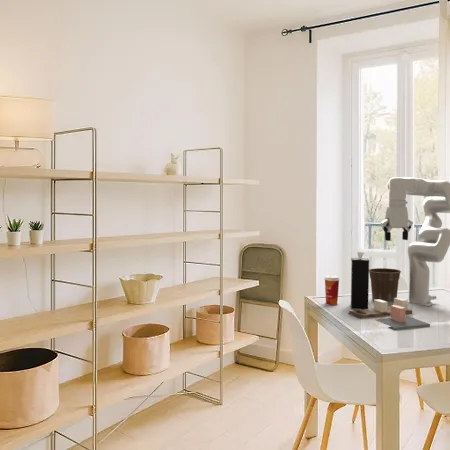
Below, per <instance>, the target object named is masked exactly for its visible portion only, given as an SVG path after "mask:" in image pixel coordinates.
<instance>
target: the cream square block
mask: <svg viewBox="0 0 450 450" xmlns="http://www.w3.org/2000/svg"><path fill="white" fill-rule="evenodd" d="M408 304H409V303H408V299H405V298H402V297H397V298H394V301H393V305H398V306H401V307H404V308H405V310H407V309H408Z"/></svg>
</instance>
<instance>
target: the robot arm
mask: <svg viewBox="0 0 450 450" xmlns="http://www.w3.org/2000/svg"><path fill="white" fill-rule="evenodd" d="M387 190H388V191H389V194H388V206H387V207H386V211H385V217H384V220H382V221H381V222H380V226H381V229H382V230H383V232H384V239H385V241H388V242H391V237H392V234H391V232H390V231H391V230H393V229H402V230H403V231H402V240H403V241H408V240H409V232H410V230H411V229H412V226H413V224H414V222H413V221H412V220H410V219H409V213H408V212H409V211H408V207H407V205H408V200H407V196H418V197H426V198H425V199H424V201H423V213H424V222H423V224H422V226H421V228H420V231H419V233H418V236H417V240H418V241H414V242H411V243H410V244H408V247H407V255H408V262H409V264H408V265H409V266H408V267H409V270H408V272H409V273H408V277H409V278H408V298H407V300H408V304H411V305H417V306H425V307H430V306H432V305H433V302H432V300H437V295H430V267H429V265H428V264H427V262H428V263H438V264H439V263H441V262H442V261H444V258H445V257H446V254H447V253H448V250H449V247H450V229H449V228H448V227H443V221H442V219H441V218H440V217H439V215H438V214H440V213H441V214H442V213H443V214H450V181H448V180H444V179H443V180H442V179H441V180H438V179H437V180H436V179H435V180H432V179H431V180H429V179H424V178H416V177H411V176H409V177H408V176H407V177H406V176H402V177H401V176H399V177H391V178H390V179H389V180H388V182H387ZM437 213H438V214H437Z"/></svg>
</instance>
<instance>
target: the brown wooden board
mask: <svg viewBox="0 0 450 450" xmlns="http://www.w3.org/2000/svg"><path fill="white" fill-rule="evenodd" d="M348 314H349V315H350V316H354V317H356V318H358V319H360V320H361V319H372V318H381V317H383V318H385V317H390V315H391V306H387V312H379V311H376V310H374V307H372V308H368V309H348ZM412 314H413V310H412V309H409V308H407V310H405V315H412Z"/></svg>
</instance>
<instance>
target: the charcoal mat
mask: <svg viewBox="0 0 450 450" xmlns="http://www.w3.org/2000/svg"><path fill="white" fill-rule="evenodd" d="M374 321H377V322H378V323H382V324H384V325H386V326H387V328H389V329H391V330H393V331H399V330H410V329H420V328H426V327H427V328H429V327H431V324H430V323H428V322H425V321H423V320H419V319H417V318H414V317H411V316H409V315H405V322H398V321H395V320H392V319H390V317H387V318H386V317H384V318H375V319H374Z"/></svg>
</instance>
